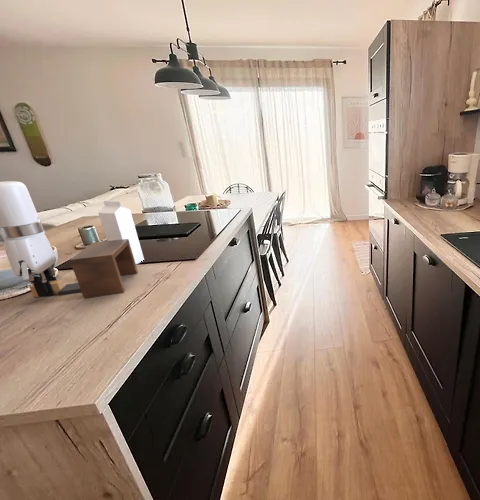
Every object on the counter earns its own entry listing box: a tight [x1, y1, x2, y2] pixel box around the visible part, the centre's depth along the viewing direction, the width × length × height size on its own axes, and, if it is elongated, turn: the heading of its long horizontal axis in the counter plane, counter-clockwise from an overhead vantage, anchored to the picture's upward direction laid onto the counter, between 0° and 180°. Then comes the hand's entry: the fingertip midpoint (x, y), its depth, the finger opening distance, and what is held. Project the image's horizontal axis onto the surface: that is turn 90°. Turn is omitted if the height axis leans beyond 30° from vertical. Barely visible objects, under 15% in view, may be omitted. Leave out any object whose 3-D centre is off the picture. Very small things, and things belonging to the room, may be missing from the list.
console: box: [69, 239, 139, 300], centre depth 84 cm, size 9×15×12 cm, turn 22°
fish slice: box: [29, 279, 82, 298], centre depth 81 cm, size 12×5×3 cm, turn 112°
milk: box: [98, 200, 145, 265], centre depth 97 cm, size 6×6×22 cm
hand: (49, 292), depth 81 cm, fingers closed on fish slice, 2 cm apart
